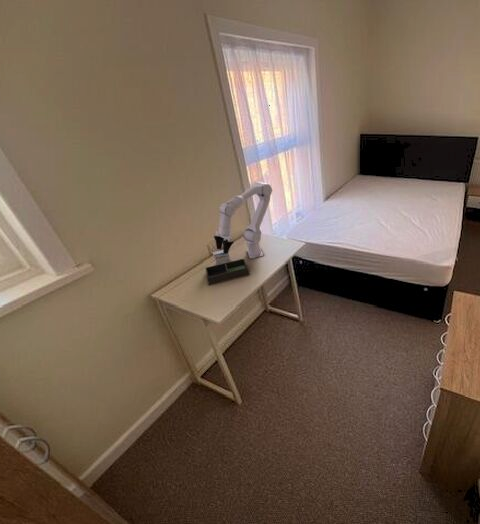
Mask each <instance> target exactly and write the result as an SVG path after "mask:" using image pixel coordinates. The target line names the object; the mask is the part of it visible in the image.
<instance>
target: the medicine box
mask: <svg viewBox="0 0 480 524" xmlns="http://www.w3.org/2000/svg"><path fill="white" fill-rule="evenodd" d="M212 256H213V258H214V261H215V265H219V264H223V263H228V262H232V261H231V257H230V255H229V252H228V253H224V252H223V249H218V250H216V251H212Z"/></svg>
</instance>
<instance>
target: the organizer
mask: <svg viewBox="0 0 480 524" xmlns="http://www.w3.org/2000/svg"><path fill="white" fill-rule="evenodd" d="M205 275H206V280H207V282H208V286H211V285H216V284H218V283H219V284H220V283H222V282H226V281H230V280H234V279H238V278H242V277H246V276H249V275H250V273H249V269H248V265H247V263H246V259H245V258H240V259H237V260H232V261H231V262H228V263H223V264H219V265H216V264H215V265H211V266H207V267H205Z"/></svg>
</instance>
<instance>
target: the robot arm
mask: <svg viewBox="0 0 480 524" xmlns="http://www.w3.org/2000/svg"><path fill="white" fill-rule="evenodd" d="M272 193H273V188H272V186H271V185H270V184H269V183H265V182H261V181H259V180H257V181H255V182H253V183H251V186H250V187H248V188H247V189H246V190H245V191H244V192H242V194H240V195H239V194H237V195H234V196H233V197H231V199H229V200H227V201H226V202H224V203H222V204H220V206H219V207H218V212H219V224H218V230H216V231H215V235H213V238H214V242H215V245H216V250H223V252H224V253H228V254H229V251H230V249H231V247H232V245H234V241H233V237H232V236H231V229H232V228H231V227H232V220H233V216H234V215H235V214H236V211H237V210H238V209H239V208H241V207H242V206H243V205H244V204H245V201H247V200H248V199H250V198H251V197H253V196H254V195H256V196H258V199H259V201H258V204H257V206H256V208H255V212H254V214H253V217H252V219H251V222H250V224H249V225H247V226H246V228H245V229H244V230H243V232H242V238H243V239H244V240H245V242H246V245H247V255H248V258H249V259H251V260H252V259H255V258H259V257H263V256H264V253H263V251H262V249H261V245H260V244H261V243H260V241H261V238H262V234H263V232H262V230H261V225H262V223H263V221H264V218H265V215H266V212H267V211H268V210H267V209H268V207H269V205H270V201H271V195H272ZM222 247H223V248H222Z"/></svg>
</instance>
